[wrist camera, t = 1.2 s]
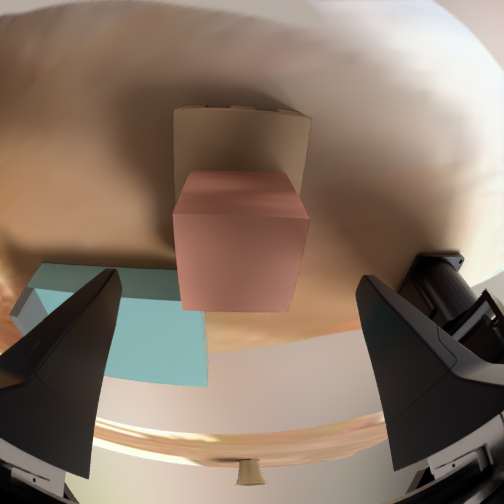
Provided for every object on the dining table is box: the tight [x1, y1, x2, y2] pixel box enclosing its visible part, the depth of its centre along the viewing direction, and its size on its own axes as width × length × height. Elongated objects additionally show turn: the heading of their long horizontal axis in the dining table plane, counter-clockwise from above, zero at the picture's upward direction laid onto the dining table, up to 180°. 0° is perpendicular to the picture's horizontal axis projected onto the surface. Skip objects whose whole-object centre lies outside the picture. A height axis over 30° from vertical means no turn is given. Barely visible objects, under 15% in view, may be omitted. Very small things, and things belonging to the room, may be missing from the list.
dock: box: [9, 263, 208, 387], centre depth 19 cm, size 14×12×6 cm
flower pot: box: [235, 459, 268, 486], centre depth 60 cm, size 9×9×9 cm
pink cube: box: [172, 170, 310, 312], centre depth 12 cm, size 4×4×4 cm
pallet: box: [173, 105, 312, 206], centre depth 15 cm, size 6×10×3 cm, turn 175°
